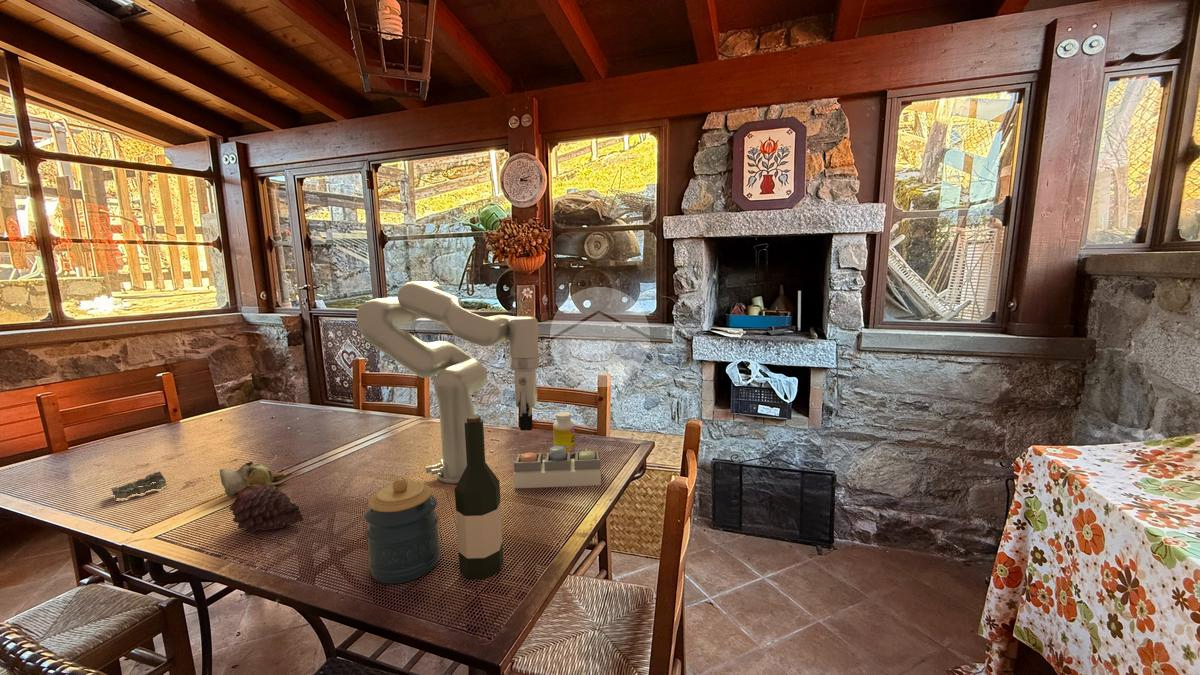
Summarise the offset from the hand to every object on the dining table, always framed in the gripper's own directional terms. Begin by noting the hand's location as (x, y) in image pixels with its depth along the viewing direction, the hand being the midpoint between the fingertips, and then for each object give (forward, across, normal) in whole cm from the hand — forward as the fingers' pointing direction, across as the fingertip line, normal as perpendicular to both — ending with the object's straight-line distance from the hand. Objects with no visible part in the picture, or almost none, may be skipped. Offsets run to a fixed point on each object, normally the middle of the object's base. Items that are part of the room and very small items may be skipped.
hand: (526, 429), depth 127 cm
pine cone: (+16, -20, +57) cm, 63 cm away
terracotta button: (+10, 0, 0) cm, 10 cm away
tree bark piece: (+16, +1, +104) cm, 105 cm away
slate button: (+9, 0, -8) cm, 12 cm away
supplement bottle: (+15, +19, -10) cm, 26 cm away
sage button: (+10, 0, -16) cm, 19 cm away
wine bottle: (+15, -38, +5) cm, 41 cm away
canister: (+15, -36, +20) cm, 44 cm away
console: (+14, 0, -8) cm, 17 cm away
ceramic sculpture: (+16, -1, +73) cm, 74 cm away
